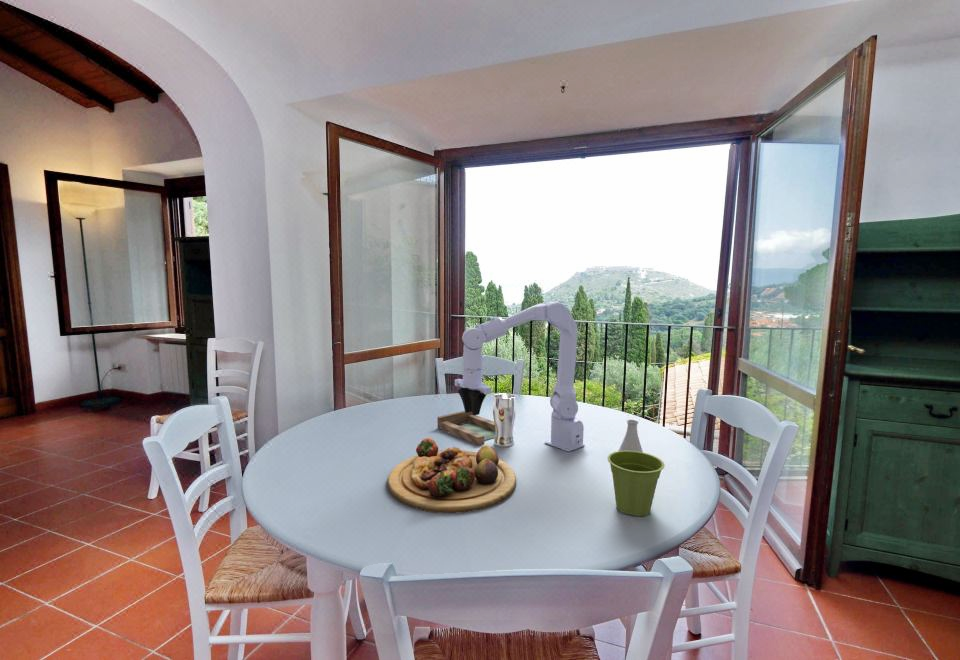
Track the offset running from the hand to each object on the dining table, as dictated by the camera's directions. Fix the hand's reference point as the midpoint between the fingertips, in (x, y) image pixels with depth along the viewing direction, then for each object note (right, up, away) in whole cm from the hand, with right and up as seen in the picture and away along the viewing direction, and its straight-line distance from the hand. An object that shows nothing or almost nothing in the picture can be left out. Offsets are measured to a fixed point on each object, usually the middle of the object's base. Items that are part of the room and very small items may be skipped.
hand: (472, 413), depth 139 cm
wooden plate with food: (-5, -14, -22) cm, 27 cm away
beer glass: (+10, -10, +4) cm, 15 cm away
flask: (+46, -12, -3) cm, 48 cm away
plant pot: (+36, -15, -36) cm, 53 cm away
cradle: (+1, -9, +15) cm, 17 cm away
